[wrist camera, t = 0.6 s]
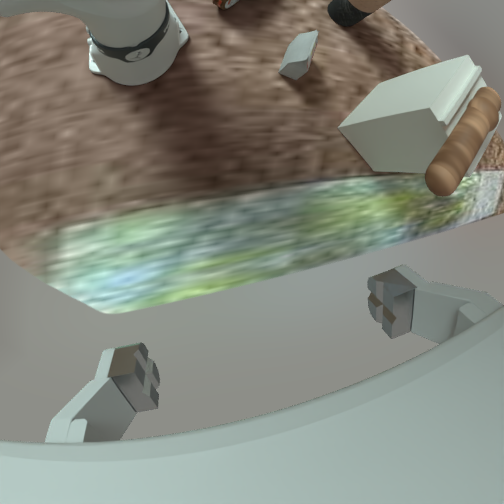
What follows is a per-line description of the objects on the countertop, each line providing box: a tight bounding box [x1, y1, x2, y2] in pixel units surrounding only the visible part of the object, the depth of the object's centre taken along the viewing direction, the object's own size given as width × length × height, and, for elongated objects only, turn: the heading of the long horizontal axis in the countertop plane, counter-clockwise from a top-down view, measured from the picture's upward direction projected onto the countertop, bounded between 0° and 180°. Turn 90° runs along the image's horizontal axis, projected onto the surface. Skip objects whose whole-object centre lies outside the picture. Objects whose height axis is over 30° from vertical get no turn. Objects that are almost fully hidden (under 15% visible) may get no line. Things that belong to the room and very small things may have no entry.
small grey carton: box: [278, 30, 319, 80], centre depth 46 cm, size 4×7×10 cm, turn 161°
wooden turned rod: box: [425, 87, 501, 196], centre depth 30 cm, size 22×5×5 cm, turn 137°
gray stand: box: [338, 55, 502, 177], centre depth 44 cm, size 16×12×27 cm
